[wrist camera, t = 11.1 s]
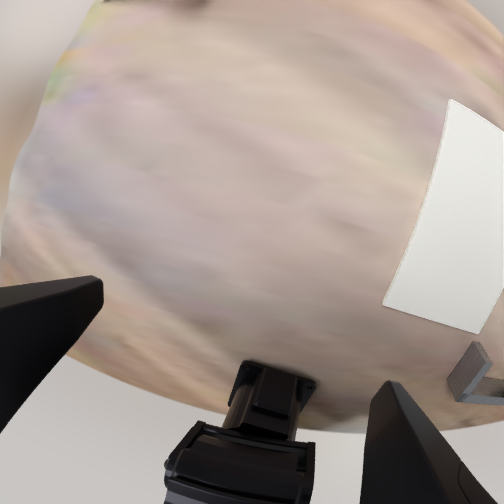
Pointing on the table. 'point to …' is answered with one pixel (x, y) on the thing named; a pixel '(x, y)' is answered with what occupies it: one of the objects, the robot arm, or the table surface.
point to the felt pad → (457, 229)
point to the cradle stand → (475, 379)
